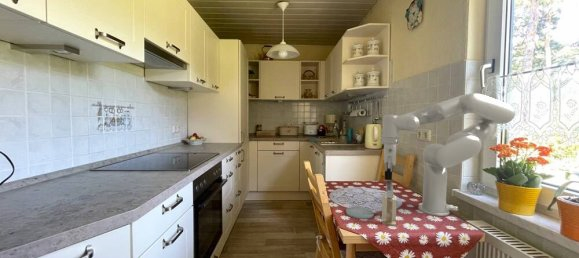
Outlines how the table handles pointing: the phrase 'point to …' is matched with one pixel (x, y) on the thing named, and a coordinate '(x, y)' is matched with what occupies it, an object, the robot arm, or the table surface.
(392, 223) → the clamp frame
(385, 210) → the cream block
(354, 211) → the ceramic plate
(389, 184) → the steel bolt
